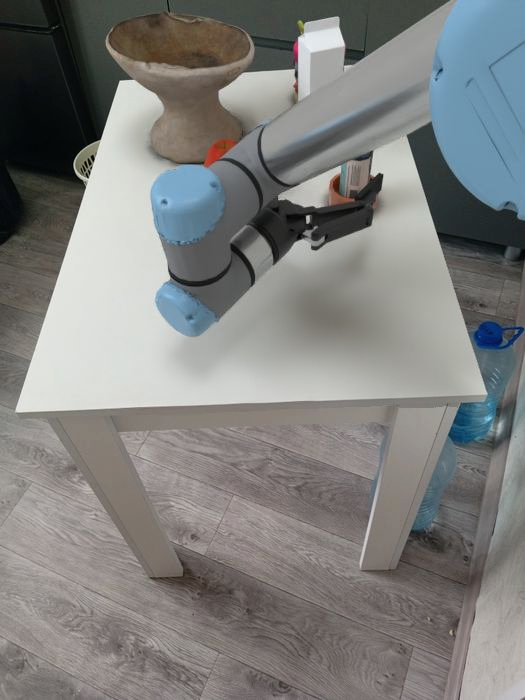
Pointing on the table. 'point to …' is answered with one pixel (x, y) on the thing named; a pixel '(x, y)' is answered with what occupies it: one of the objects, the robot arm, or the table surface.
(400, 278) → the table surface
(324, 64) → the milk
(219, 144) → the apple
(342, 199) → the holder
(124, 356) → the table surface
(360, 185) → the beer can
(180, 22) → the bowl
